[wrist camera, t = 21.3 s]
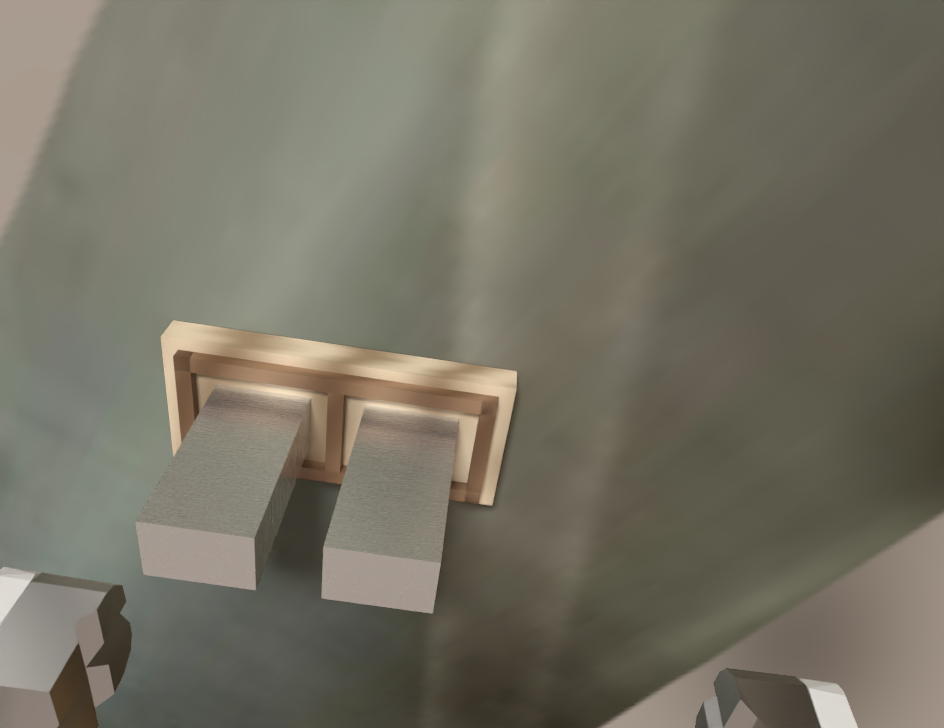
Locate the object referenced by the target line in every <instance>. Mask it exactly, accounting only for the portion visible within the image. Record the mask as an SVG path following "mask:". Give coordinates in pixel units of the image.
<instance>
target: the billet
mask: <svg viewBox="0 0 944 728" xmlns="http://www.w3.org/2000/svg"><path fill="white" fill-rule="evenodd" d="M309 438H310V398H306V397H300V396H293V395H286V394H279V393H272V392H265V391H259V390H252V389H245V388H238V387H231V386H224V385H218V384H216V386H215V387H214V389H213V391H212V392H211V394H210V396H209V397H208V399H207V401H206V402H205V404H204V406H203V408H202V409H201V411H200V413H199V414H198V416H197V418H196V419H195V421H194V423H193V425H192V426H191V428H190V430H189V431H188V433H187V435H186V436H185V438H184V440H183V441H182V443H181V445H180V447H179V448H178V450H177V452H176V453H175V455H174V457H173V458H172V460H171V462H170V464H169V465H168V467H167V469H166V470H165V472H164V474H163V475H162V477H161V479H160V481H159V482H158V484H157V486H156V487H155V489H154V491H153V492H152V494H151V496H150V497H149V499H148V501H147V503H146V504H145V506H144V508H143V509H142V511H141V513H140V514H139V516H138V518H137V520H136V521H135V522H136V529H137V535H138V542H139V548H140V555H141V561H142V568H143V574H144V575H150V576H158V577H165V578H172V579H179V580H186V581H193V582H201V583H208V584H215V585H222V586H229V587H236V588H243V589H251V590H256V589H257V586H258V583H259V581H260V578H261V575H262V572H263V570H264V567H265V564H266V562H267V559H268V556H269V554H270V551H271V548H272V545H273V543H274V540H275V537H276V535H277V532H278V529H279V527H280V524H281V521H282V518H283V516H284V513H285V510H286V508H287V505H288V502H289V500H290V497H291V494H292V491H293V489H294V486H295V483H296V481H297V478H298V475H299V473H300V470H301V467H302V464H303V462H304V459H305V456H306V454H307V451H308V448H309Z"/></svg>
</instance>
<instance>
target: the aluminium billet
mask: <svg viewBox="0 0 944 728" xmlns="http://www.w3.org/2000/svg"><path fill="white" fill-rule="evenodd" d="M458 420H459V418H452V417H445V416H438V415H431V414H424V413H417V412H410V411H403V410H396V409H390V408H383V407H376V406H369V405H365V408H364V411H363V414H362V418H361V421H360V425H359V428H358V431H357V435H356V438H355V441H354V445H353V448H352V452H351V455H350V458H349V462H348V465H347V469H346V472H345V475H344V479H343V482H342V485H341V489H340V492H339V496H338V499H337V502H336V506H335V509H334V512H333V516H332V519H331V523H330V526H329V529H328V533H327V536H326V540H325V543H324V546H323V570H322V598H323V599H330V600H337V601H345V602H352V603H359V604H366V605H374V606H381V607H388V608H395V609H403V610H410V611H417V612H425V613H432V614H433V609H434V603H435V597H436V590H437V584H438V578H439V572H440V566H441V559H442V551H443V542H444V534H445V526H446V518H447V510H448V502H449V493H450V485H451V477H452V469H453V461H454V453H455V445H456V436H457V428H458Z"/></svg>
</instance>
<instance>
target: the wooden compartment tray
mask: <svg viewBox="0 0 944 728" xmlns="http://www.w3.org/2000/svg"><path fill="white" fill-rule="evenodd" d="M161 345H162V354H163V363H164V373H165V382H166V391H167V401H168V410H169V419H170V429H171V438H172V447H173V457H174V455H175V453H176V452H177V450H178V448H179V447H180V445H181V443H182V441H183V440H184V438H185V436H186V435H187V433H188V431H189V430H190V428H191V426H192V425H193V423H194V421H195V419H196V418H197V416H198V414H199V413H200V411H201V409H202V408H203V406H204V404H205V402H206V401H207V399H208V397H209V396H210V394H211V392H212V391H213V389H214V387H215V386H216V384H218V385H224V386H231V387H238V388H245V389H252V390H259V391H265V392H272V393H279V394H286V395H293V396H300V397H306V398H310V438H309V448H308V451H307V454H306V456H305V459H304V462H303V464H302V467H301V470H300V473H299V475H298V478H301V479H308V480H315V481H322V482H329V483H336V484H342V482H343V479H344V475H345V472H346V469H347V465H348V462H349V458H350V455H351V452H352V448H353V445H354V441H355V438H356V435H357V431H358V428H359V425H360V421H361V418H362V414H363V411H364V408H365V405H369V406H376V407H383V408H390V409H396V410H403V411H410V412H417V413H424V414H431V415H438V416H445V417H452V418H459V420H458V428H457V436H456V445H455V453H454V461H453V469H452V477H451V485H450V493H449V500H455V501H461V502H468V503H475V504H484V505H491V506H492V504H493V500H494V495H495V490H496V485H497V480H498V476H499V471H500V466H501V461H502V457H503V452H504V447H505V442H506V438H507V433H508V428H509V423H510V419H511V414H512V409H513V404H514V399H515V395H516V390H517V371H511V370H505V369H498V368H491V367H484V366H478V365H471V364H464V363H458V362H451V361H444V360H437V359H431V358H424V357H417V356H410V355H404V354H397V353H390V352H383V351H377V350H370V349H363V348H356V347H350V346H343V345H336V344H329V343H323V342H316V341H309V340H302V339H296V338H289V337H282V336H275V335H269V334H262V333H255V332H248V331H242V330H235V329H228V328H221V327H215V326H208V325H201V324H194V323H188V322H181V321H174V320H173V321H172V323H171V324H170V325H169V327H168V328H167V329H166V331H165V332H164V333H163V335H162V336H161Z"/></svg>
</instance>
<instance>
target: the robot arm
mask: <svg viewBox="0 0 944 728" xmlns="http://www.w3.org/2000/svg"><path fill="white" fill-rule="evenodd" d="M125 603H126V599H125V594H124V590H123V586H122V585H118V584H112V583H105V582H99V581H93V580H86V579H80V578H74V577H67V576H61V575H55V574H48V573H44V572H37V571H30V570H23V569H16V568H9V567H3V568H2V569H0V728H98V726H99V724H98V720H97V715H96V711H95V707H96V706H98V705H99V704H101V703H102V702H103V701H105V700H106V699H107V698H109V697H110V696H112V695H113V694H114V693H115V691H116V689H117V687H118V685H119V683H120V681H121V679H122V677H123V674H124V672H125V668H126V665H127V662H128V658H129V655H130V651H131V639H132V632H131V626H130V622H129V621H128V620H127V619H125V618H124V617H123V616H122V615H121V614H120V612H121V610H122V608H123V606H124V604H125ZM714 687H715V692H716V696H714V697H713V698H710V699H709V700H707V701H705V702H703V704H702V706H701V709H700V711H699V713H698V715H697V718H696V725H695V728H858V727H857V724H856V722H855V719H854V717H853V714H852V711H851V709H850V706H849V704H848V701H847V698H846V696H845V693H844V692H843V690H842V689H841V688H840V687H839V686H838V684H835V683H831V682H825V681H816V680H808V679H798V678H796V677H793V676H786V675H778V674H769V673H762V672H753V671H746V670H737V669H729V668H726V669H724V670H722V671H721V672H719V674H718V676H717V678H716V680H715V681H714Z"/></svg>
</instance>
